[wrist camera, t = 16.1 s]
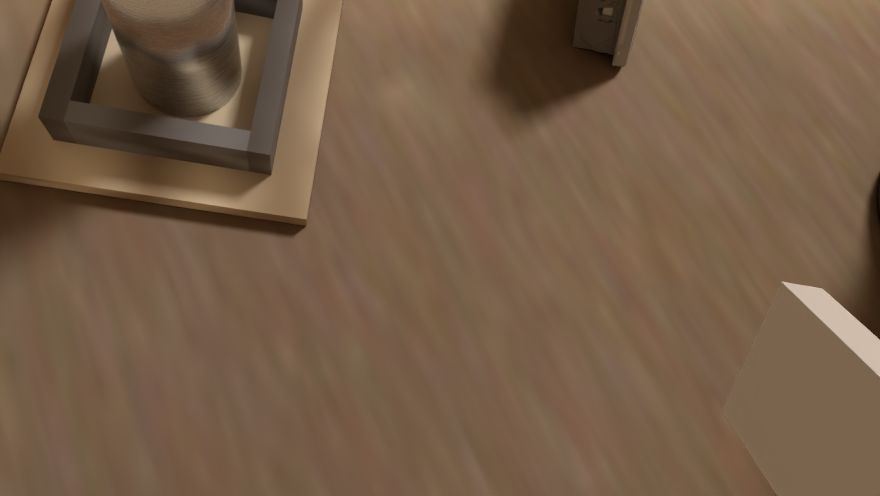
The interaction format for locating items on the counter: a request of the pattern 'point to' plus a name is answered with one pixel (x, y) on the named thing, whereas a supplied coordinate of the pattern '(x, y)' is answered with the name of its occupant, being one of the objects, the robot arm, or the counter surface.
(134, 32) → the steel piston
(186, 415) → the counter surface
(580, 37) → the electrical switch
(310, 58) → the collar plate
